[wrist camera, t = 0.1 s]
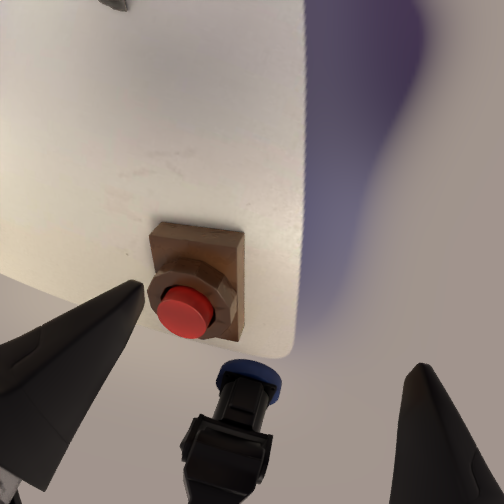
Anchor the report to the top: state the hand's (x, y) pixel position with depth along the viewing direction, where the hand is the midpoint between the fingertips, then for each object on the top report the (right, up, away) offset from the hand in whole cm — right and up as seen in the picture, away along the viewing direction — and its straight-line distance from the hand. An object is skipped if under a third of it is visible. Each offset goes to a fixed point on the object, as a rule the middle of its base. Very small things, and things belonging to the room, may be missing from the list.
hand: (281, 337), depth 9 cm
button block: (-5, 0, +18) cm, 19 cm away
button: (-6, -2, +15) cm, 17 cm away
